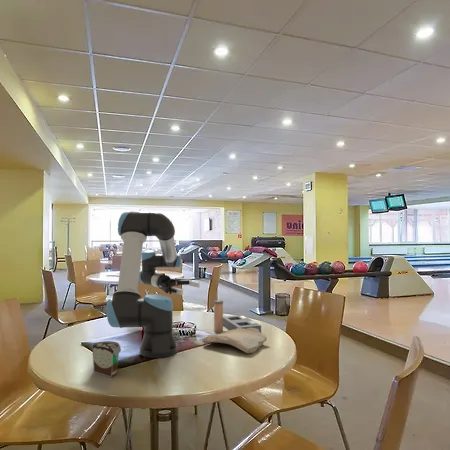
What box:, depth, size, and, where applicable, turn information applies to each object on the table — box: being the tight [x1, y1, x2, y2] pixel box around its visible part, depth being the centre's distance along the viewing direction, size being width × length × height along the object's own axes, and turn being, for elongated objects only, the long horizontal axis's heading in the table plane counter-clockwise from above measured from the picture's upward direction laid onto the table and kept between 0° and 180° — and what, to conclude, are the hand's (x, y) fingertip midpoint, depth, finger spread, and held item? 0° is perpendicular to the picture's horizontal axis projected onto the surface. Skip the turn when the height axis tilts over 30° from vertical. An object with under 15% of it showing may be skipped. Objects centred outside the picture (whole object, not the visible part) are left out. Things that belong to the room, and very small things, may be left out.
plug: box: [213, 299, 224, 333], centre depth 183 cm, size 5×5×15 cm
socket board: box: [223, 314, 262, 334], centre depth 187 cm, size 24×12×4 cm, turn 20°
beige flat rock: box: [201, 328, 268, 354], centre depth 160 cm, size 24×8×20 cm
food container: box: [91, 340, 122, 378], centre depth 130 cm, size 12×6×10 cm, turn 58°
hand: (190, 288), depth 189 cm, fingers open, 13 cm apart
